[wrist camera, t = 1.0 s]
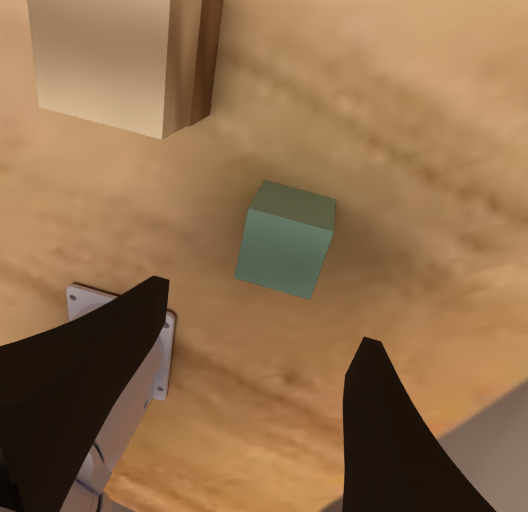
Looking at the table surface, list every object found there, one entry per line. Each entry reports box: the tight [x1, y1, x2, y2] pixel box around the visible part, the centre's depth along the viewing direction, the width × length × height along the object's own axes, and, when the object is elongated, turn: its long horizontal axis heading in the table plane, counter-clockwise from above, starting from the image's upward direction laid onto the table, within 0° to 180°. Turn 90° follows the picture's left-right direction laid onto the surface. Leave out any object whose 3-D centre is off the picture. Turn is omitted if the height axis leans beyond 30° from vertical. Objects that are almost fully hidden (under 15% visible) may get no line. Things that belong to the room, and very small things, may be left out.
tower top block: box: [27, 0, 202, 140], centre depth 14 cm, size 5×5×3 cm
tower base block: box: [187, 0, 223, 126], centre depth 17 cm, size 5×5×3 cm
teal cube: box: [234, 180, 336, 300], centre depth 20 cm, size 4×4×4 cm
